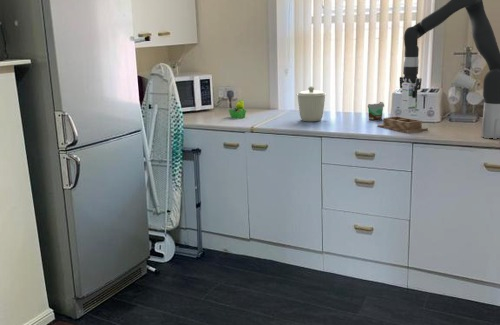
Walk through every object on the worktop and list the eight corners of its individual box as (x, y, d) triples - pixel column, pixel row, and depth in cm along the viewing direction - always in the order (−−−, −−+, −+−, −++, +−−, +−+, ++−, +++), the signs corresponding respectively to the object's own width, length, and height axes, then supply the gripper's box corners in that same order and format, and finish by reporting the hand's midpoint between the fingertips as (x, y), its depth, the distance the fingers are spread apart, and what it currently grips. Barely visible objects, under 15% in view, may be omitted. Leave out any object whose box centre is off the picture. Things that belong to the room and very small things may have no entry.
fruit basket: (228, 117, 338) (227, 100, 335) (238, 115, 343) (238, 98, 340) (237, 119, 329) (237, 102, 326) (248, 117, 334) (248, 100, 331)
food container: (375, 121, 304) (376, 105, 301) (367, 120, 308) (367, 104, 306) (388, 118, 311) (388, 102, 309) (379, 117, 316) (380, 101, 313)
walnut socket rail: (427, 130, 274) (428, 121, 273) (408, 133, 268) (408, 124, 266) (396, 123, 295) (396, 115, 293) (377, 126, 288) (377, 117, 287)
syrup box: (407, 110, 271) (408, 83, 267) (401, 108, 276) (402, 82, 273) (416, 109, 272) (418, 82, 269) (410, 108, 278) (411, 81, 274)
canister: (305, 124, 304) (305, 88, 298) (291, 119, 320) (291, 86, 315) (331, 121, 310) (331, 86, 305) (317, 117, 326) (316, 84, 321)
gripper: (426, 65, 264) (424, 97, 268) (406, 64, 276) (405, 95, 281) (415, 66, 261) (414, 99, 265) (395, 65, 273) (394, 96, 277)
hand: (409, 96), depth 273 cm, fingers closed on syrup box, 6 cm apart
